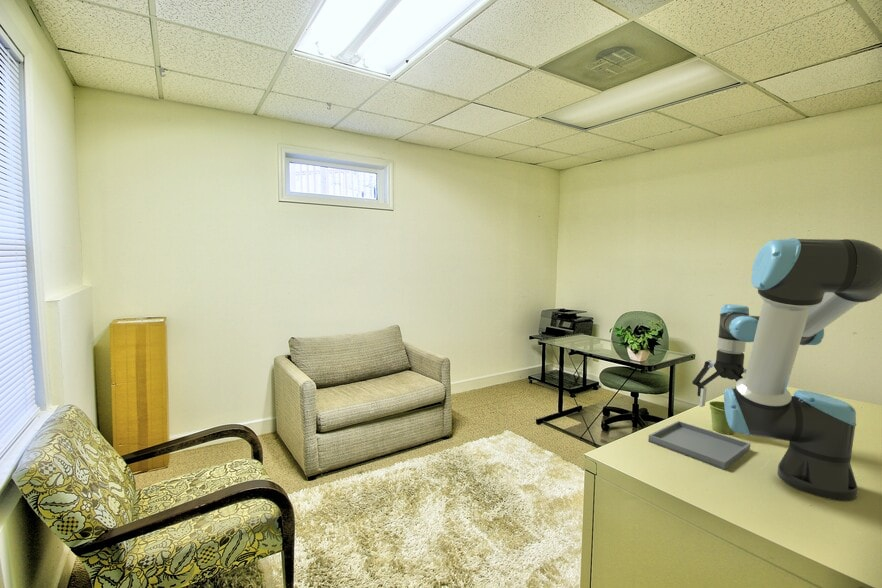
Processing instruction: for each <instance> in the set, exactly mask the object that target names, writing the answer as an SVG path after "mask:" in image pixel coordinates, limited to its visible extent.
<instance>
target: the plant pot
mask: <svg viewBox="0 0 882 588" xmlns="http://www.w3.org/2000/svg"><path fill="white" fill-rule="evenodd" d="M708 406H709V409H710V411H711V413H710V415H711V426H712V427H711V428H712V430H714V431H716V433H718V434H722V435H730V434H731V435H734V434H735V432H734V431H733V430H731V428H730V427H729V425H728V422H727V419H726V414H725V407H724V401H720V400H717V401H715V400H714V401H710V402H708Z"/></svg>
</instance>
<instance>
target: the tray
mask: <svg viewBox="0 0 882 588" xmlns="http://www.w3.org/2000/svg"><path fill="white" fill-rule="evenodd" d="M647 439H648V440H647V441H648V443H651V444H654V445H656V446H659V447H662V448H664V449H667V450H670V451H673V452H675V453H678V454H679V455H682V456H686V457H688V458H691V459H694V460H697V461H699V462H702V463H703V464H706V465H707V464H708V465H710V466H713V467H714V468H717V469H720V470H723V471H725V470H726V469H728V468H729V467H730V466H731V465H733V464H734V463H735V462H737V461H738V460H739V459H741V458H743V456H744V455H746V454H747V453H749V452H750V451H751V445H752V444H751V443H749V442H746V441H743V440H739V439H737V438H734V437H731V436H727V435H726V434H722V433H719V432H715V431H711V430H708V429H705V428H702V427H699V426H696V425H693V424H690V423H686V422H683V421H681V420H677V421H675V422H673V423H671V424H669V425H667V426H665V427H663V428H660V429H659V430H657V431H654V432H652V433H650V434H648V438H647Z"/></svg>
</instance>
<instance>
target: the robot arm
mask: <svg viewBox="0 0 882 588" xmlns="http://www.w3.org/2000/svg"><path fill="white" fill-rule="evenodd" d="M750 278H751V284H752V285H753V288H755V289H757V294H758V296H759V297H760V298H761V299H762V300H763V301H762V306H761V310H760V314H759V315H750V308H749V306H747V305H744V304H743V305H741V304H731V303H729V304H722V306H721V309H720V313H719V326H718V335H717V336H718V337H717V346H716V349H717V350H716V358H715V362H713V361H712V360H706V361H704V365H703V368H702V369H701V370H700V372H699V373H698V374H697V375H696V377H694V379H693V380H692V382H691V383H692V385H695V386H697V396H698V397H699V408H703V407H706V399H707V398H706V397H707V389H708V388H707V387H705V386H707V385H708V384H709V383H710V382H712V381H713V380H715V379H717V378H718V377H720V378H723V379H729V380H730V381H733V380H735V386H734V387H733V388H732V387H729V388H726V389H725V390H724V393H723V402H724V407H725V414H726V419H727V422H728V425H729V427H730V428H731V430H733V431H734V433H738V434H741V435H747V436H749V437H750V436H755V437H759V438H760V437H761V438H766V439H772V440H773V439H774V440H780V441H787V442H789V444H788V449H786V451H785V452H784V455H783V457H782V458H781V460H780V461H779V463H778V465H777V471H776V472H777V476H778V477H779V478H780V479H781V480H782V481H784V482H785V483H786V484H787V485H789V486H791V487H794V488H796V489H797V490H800V491H802V492H804V493H807V494H811V495H814V496H816V497H820V498H824V499H827V500H828V499H829V500H835V501H841V502H842V501H845V502H849V501H853V500H855V499H857V498H858V497H857V496H858V483H857V481H856V479H855V478H856V477H855V475H854V471H853V468H852V465H851V461H852V453H853V447H854V446H853V445H854V438H855V431H856V430H855V429H856V426H857V419H856V418H857V417H856V416H857V415H856V414H857V413H856V412H857V411H856V409H855V407H853V405H851V404H850V403H848V402H846V401H843V400H842V399H838V398H836V397H833V396H829V395H827V394H824V393H819V392H814V391H812V390H804V389H796V390H795V391H794V392H793V395H792V394H791V392H790V391H789V390H788V389H787V388H788V384H789V380H790V378H791V375H792V370H793V368H794V364H795V360H796V357H797V354H798V351H799V348H800V346H817V345H820V344H821V342H822V340H823V339H824V337H825V328H826V327H828V326H829V325H830V324H832V323H833V322H835V321H836V320H837V319H839V318H840V317H842V316H843V315H844V314H846V313H847V312H848V311H850V310H852V309H853V308H855V307H856V306H857V305H858V304H860V303H866V302H867V303H868V302H870V301H873V300H875V299H876V298H877V297H879V296H881V295H882V248H880V247H879V246H877V245H875V244H873V243H870V242H868V241H864V240H860V239H854V238H853V239H849V238H848V239H847V238H844V239H836V238H834V239H832V238H831V239H828V238H826V239H824V238H823V239H820V238H815V239H814V238H813V239H812V238H809V239H808V238H796V237H794V238H793V237H792V238H784V239H782V238H780V239H772V240H770V241H768V242H766V243H765V244H764V245H762V247H760V249H759V251H758V252H757V254H756V256H755V259H754V261H753V264H752V268H751V277H750ZM746 343H752V346H751V350H750V355H749V358H748V363H747V365H746V368H745V367H744V365H745V363H744V362H745V354H744V353H745V352H746V351H745V350H746ZM713 367H714V369H715V370H716V371H715V372H713V373H712V374H711V375H710V376H708V377H707V378H705V379H704V380H703V381H701V380H702V379H703V378H704V376H706V374H707V372H709V370H710V369H711V368H713ZM743 374H745V375H744V377H743V376H742V375H743Z"/></svg>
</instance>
